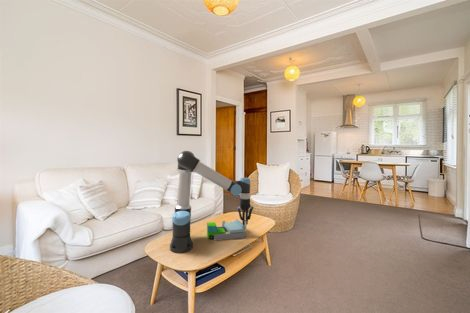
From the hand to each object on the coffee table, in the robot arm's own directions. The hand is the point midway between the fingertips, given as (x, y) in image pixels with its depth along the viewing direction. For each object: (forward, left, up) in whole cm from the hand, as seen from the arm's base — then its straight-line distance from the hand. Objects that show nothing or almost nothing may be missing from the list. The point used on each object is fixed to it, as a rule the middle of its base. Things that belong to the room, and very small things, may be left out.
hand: (245, 228), depth 174 cm
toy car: (-22, +3, -6) cm, 23 cm away
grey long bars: (-12, +5, -6) cm, 14 cm away
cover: (-8, +6, -5) cm, 11 cm away
